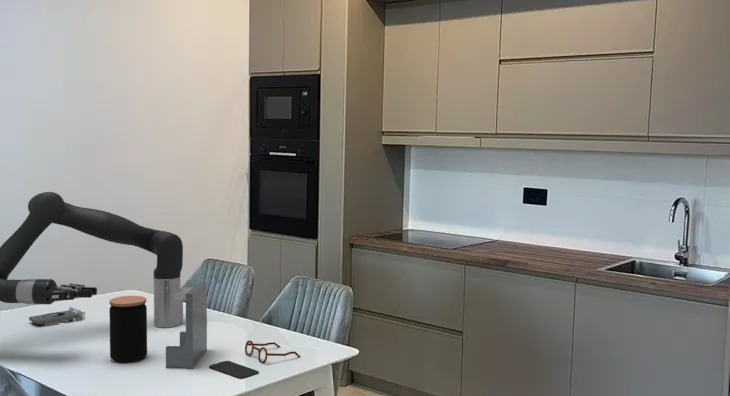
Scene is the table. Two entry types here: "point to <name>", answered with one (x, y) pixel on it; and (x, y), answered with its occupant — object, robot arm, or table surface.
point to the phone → (233, 369)
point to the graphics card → (58, 317)
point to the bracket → (191, 329)
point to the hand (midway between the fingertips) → (93, 292)
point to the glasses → (265, 350)
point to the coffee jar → (128, 329)
